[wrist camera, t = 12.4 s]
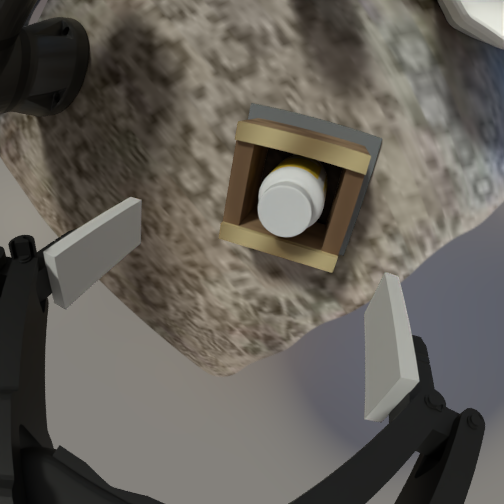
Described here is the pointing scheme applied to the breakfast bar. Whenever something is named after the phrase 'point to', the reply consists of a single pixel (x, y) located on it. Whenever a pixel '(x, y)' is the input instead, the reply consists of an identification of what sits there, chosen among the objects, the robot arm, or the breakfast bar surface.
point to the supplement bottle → (292, 196)
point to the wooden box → (249, 180)
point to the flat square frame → (333, 130)
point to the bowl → (477, 19)
